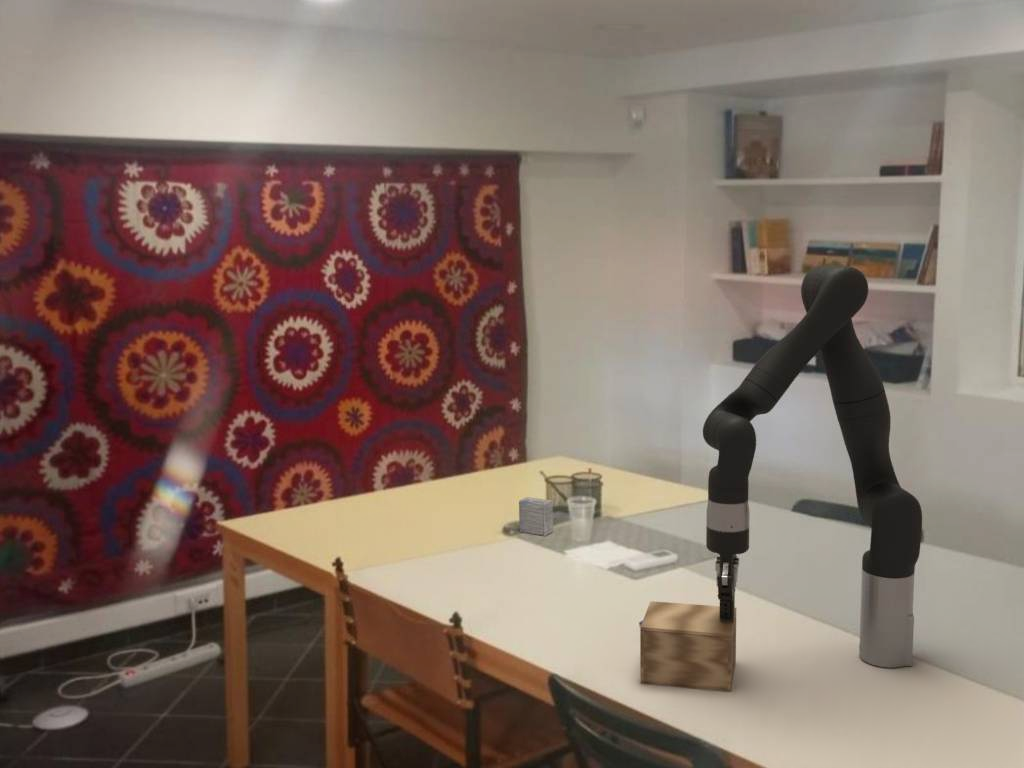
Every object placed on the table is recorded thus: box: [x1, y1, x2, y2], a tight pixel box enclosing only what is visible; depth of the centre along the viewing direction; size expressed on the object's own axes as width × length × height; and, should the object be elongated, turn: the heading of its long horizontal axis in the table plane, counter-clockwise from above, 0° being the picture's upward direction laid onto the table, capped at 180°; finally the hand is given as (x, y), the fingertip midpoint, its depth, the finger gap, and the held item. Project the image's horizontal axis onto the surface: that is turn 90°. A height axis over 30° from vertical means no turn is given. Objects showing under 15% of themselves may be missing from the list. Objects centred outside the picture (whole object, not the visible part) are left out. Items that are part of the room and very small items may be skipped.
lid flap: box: [639, 591, 737, 638], centre depth 201 cm, size 16×13×6 cm
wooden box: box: [639, 614, 737, 693], centre depth 202 cm, size 16×13×10 cm
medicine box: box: [518, 496, 554, 537], centre depth 289 cm, size 8×4×9 cm, turn 58°
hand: (726, 615), depth 200 cm, fingers closed on lid flap, 2 cm apart
